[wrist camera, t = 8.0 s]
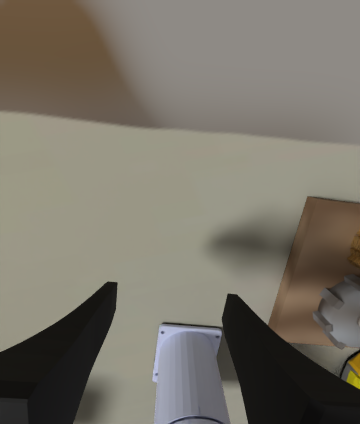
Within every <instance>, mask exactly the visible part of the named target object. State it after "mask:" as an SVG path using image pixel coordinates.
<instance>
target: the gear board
mask: <svg viewBox="0 0 360 424" xmlns="http://www.w3.org/2000/svg"><path fill="white" fill-rule="evenodd" d="M359 230H360V203H353V202H345V201H338V200H330V199H323V198H315V197H307V200H306V203H305V207H304V210H303V213H302V216H301V220H300V223H299V226H298V229H297V233H296V236H295V239H294V242H293V246H292V249H291V252H290V255H289V259H288V262H287V265H286V268H285V272H284V275H283V278H282V281H281V285H280V288H279V291H278V294H277V298H276V301H275V304H274V307H273V311H272V314H271V317H270V320H269V324H268V326H269V327H270V328H271V329H272V330H273V331H274V332H275V333H277V334H278V335H279V336H280V337H281V338H282V339H284V340H285V341H286V342H289V343H301V344H314V345H326V346H336V347H338V348H340V349H343V348H344V347H351V348H359V349H360V269H358V268H357V267H355V266H353V265H351V264H350V263H349V261H348V259H347V258H348V257H349V256H351V252H350V248H353V247H351V246H350V245H351V243H352V240H353V238H354V236H358V235H357V234H356V233H357V232H358V231H359Z"/></svg>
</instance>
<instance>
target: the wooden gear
mask: <svg viewBox="0 0 360 424" xmlns="http://www.w3.org/2000/svg"><path fill="white" fill-rule="evenodd" d="M356 234H357V235H358V236H354V238H353V240H352V243H351V245H350V246H351V247H353V248H350V252H351V256H349V257H348V258H347V259H348V261H349V263H350V264H351V265H353V266H355V267H357V268H358V269H360V230H359V231H358V232H357V233H356Z"/></svg>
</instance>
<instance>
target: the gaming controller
mask: <svg viewBox="0 0 360 424" xmlns="http://www.w3.org/2000/svg"><path fill="white" fill-rule="evenodd" d="M341 379H342V380H344V381H346V382H348V383H349V384H351V385H353V386H355V387H357V388H358V389H360V353H358V354H357V355H355V356H354V357H352V358H351V359H350V360H348V361H347V364H346V366H345V368H344V370H343V373H342V377H341Z"/></svg>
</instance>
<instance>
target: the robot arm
mask: <svg viewBox="0 0 360 424" xmlns="http://www.w3.org/2000/svg"><path fill="white" fill-rule="evenodd" d="M116 298H117V282H107V283H105V284H104V285H103V286H102V287H101V288H100V289H99V290H98V291H96V292H95V293H94V294H93V295H92V296H91V297H90V298H88V299H87V300H86V301H85V302H84V303H82V304H81V305H80V306H79V307H77V308H76V309H75V310H73V311H72V312H71V313H69V314H68V315H67V316H65V317H64V318H62V319H61V320H59V321H58V322H56V323H55V324H53V325H51V326H50V327H48V328H46V329H45V330H43V331H41V332H39V333H38V334H36V335H34V336H32V337H30V338H29V339H27V340H25V341H23V342H21V343H19V344H17V345H15V346H13V347H10V348H8V349H6V350H4V351H2V352H0V424H73V422H74V419H75V416H76V413H77V410H78V407H79V404H80V401H81V398H82V395H83V392H84V389H85V386H86V383H87V381H88V378H89V375H90V372H91V370H92V367H93V365H94V362H95V360H96V358H97V356H98V353H99V351H100V349H101V347H102V344H103V342H104V340H105V337H106V335H107V333H108V331H109V328H110V326H111V323H112V320H113V317H114V313H115V310H116ZM222 323H223V329H224V334H225V338H226V341H227V344H228V347H229V351H230V354H231V357H232V360H233V363H234V366H235V370H236V373H237V376H238V380H239V383H240V387H241V392H242V396H243V401H244V405H245V410H246V415H247V420H248V424H360V389H358V388H357V387H355V386H353V385H351V384H349V383H348V382H346V381H344V380H342V379H341V378H339V377H337V376H335V375H334V374H332V373H330V372H329V371H327V370H326V369H324V368H322V367H321V366H319V365H318V364H316V363H315V362H313V361H312V360H310V359H309V358H308V357H306V356H305V355H303V354H302V353H301V352H299V351H298V350H296V349H295V348H294V347H292V346H291V345H290V344H289V343H287V342H286V341H285V340H284V339H282V338H281V337H280V336H279V335H278V334H277V333H275V332H274V331H273V330H272V329H271V328H270V327H269V326H268V325H267V324H266V323H265V322H264V321H262V320H261V319H260V318H259V317H258V316H257V315H256V314H255V313H254V312H253V311H252V310H251V308H250V307H249V306H248V305H247V304H246V303H245V302H244V301H243V300H242V299H241V298H240V297H239V296H238V295H236V294H228V295H227V299H226V304H225V308H224V312H223V316H222ZM162 331H164V332H162ZM217 335H218V336H217ZM221 336H222V331H221V329H219V328H208V327H196V326H184V325H172V324H161V325H160V326H159V334H158V341H157V349H156V356H155V364H154V371H153V381H154V382H157V391H156V404H155V418H154V424H231V423H230V419H229V414H228V409H227V405H226V400H225V396H224V391H223V386H222V382H221V377H220V373H219V368H218V363H217V359H216V357H217V353H218V349H219V345H220V340H221Z"/></svg>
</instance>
